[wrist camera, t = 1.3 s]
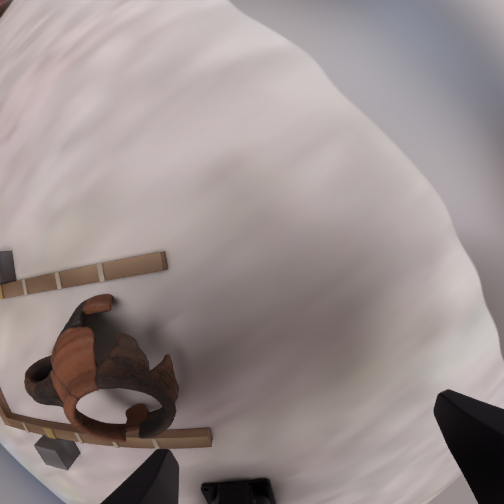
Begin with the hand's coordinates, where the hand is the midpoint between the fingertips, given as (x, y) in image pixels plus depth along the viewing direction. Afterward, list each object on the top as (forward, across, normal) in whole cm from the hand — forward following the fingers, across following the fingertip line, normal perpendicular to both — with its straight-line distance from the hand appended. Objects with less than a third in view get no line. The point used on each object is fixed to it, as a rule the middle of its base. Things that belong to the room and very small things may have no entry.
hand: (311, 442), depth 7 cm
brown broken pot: (+12, +13, +2) cm, 18 cm away
